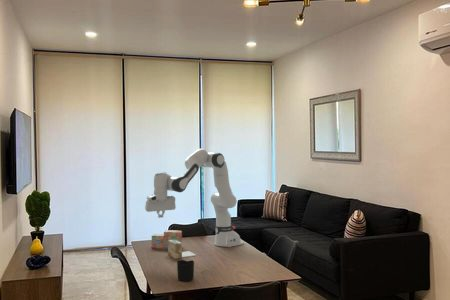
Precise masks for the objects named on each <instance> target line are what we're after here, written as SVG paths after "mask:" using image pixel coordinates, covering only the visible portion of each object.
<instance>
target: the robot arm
mask: <svg viewBox="0 0 450 300" xmlns="http://www.w3.org/2000/svg"><path fill="white" fill-rule="evenodd" d="M184 166H185V168H186V170H185V172H184V174H183V175H180V176H172V175H170V174H169V173H167V172H166V171H160V172H159V171H158V172H156V173H155V174H154V176H153V188H154V190H153V194H150V195H147V196H146V201H145V206H144V210H145V211H146V212H147V213H151V212H156V214H157V215H158V216H157V217H158V218H164V214H165V212H166V211H174V210H176V209H177V207H176V206H177V205H176V197H174V195H168V191H169V192H170V191H171V192H176V193H182V192H184V191H186V189H187V188H188V185H189V183H190V182H191V181H192V179H194V177H195V176H196V174H197V173H198V171H199V169H200V168H201V167H204V168H212V170H213V174H212V175H213V183H214V186H215V188H216V190H217V192H213V193H212V194H211V196H210V201H211V202H210V203H211V204H212V206H213V208H214V212H215V238H214V241H213V242H214V243H213V245H214V246H217V247H227V248H231V247H236V246H240V245H244V243H245V242H244V241H242V240H241V237H240V236H241V235H239V233H237V232H236V231H234V230H235V229H236V226H234V225H232V224H231V223H232V215H231V214H230V211H229V210H228V209H232V208H234V207H235V206H236V205H237V202H238V201H237V197H236V196H235V194H233V191H232V189H231V188H232V187H231V184H230V177H229V170H228V169H229V168H228V166H227V162H226V161H225V157H224V155H223V153H221V152H219V151H217V152H215V151H214V152H213V151H212V152H211V151H209V152H208V151H207V150H206V149H204V148H198V149H197V150H195V151H193V152H192V153H191V154H190V155H189V156H188V157H187V158H186V159H185V160H184ZM160 212H161V214H160Z"/></svg>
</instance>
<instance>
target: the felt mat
mask: <svg viewBox="0 0 450 300" xmlns="http://www.w3.org/2000/svg"><path fill="white" fill-rule="evenodd" d="M196 256H197V254H195V253H193V252H191V251H190V250H187V251H182V258H191V257H196ZM182 258H181V259H182Z"/></svg>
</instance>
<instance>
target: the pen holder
mask: <svg viewBox="0 0 450 300" xmlns="http://www.w3.org/2000/svg"><path fill="white" fill-rule="evenodd" d="M176 265H177V266H176V269H177V280H178V281H179V282H183V283H187V282H188V283H189V282H192V281H193V280H194V277H195V275H194V274H195V261H194V260H192V259H191V260H188V261H187V260H184V259H183V260H182V259H180V260H179V259H178V261H177V262H176Z"/></svg>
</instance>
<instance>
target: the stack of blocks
mask: <svg viewBox="0 0 450 300" xmlns="http://www.w3.org/2000/svg"><path fill="white" fill-rule="evenodd" d="M168 240H177V241H179V242H181V243H182V242H183V231H182V230H178V229H177V230H173V229H172V230H171V229H169V230H167V229H166V230H164V231H163V234H161V233H153V234H152V235H151V248H152V249H165V250H166V249H167V250H168ZM182 244H183V243H182Z"/></svg>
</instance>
